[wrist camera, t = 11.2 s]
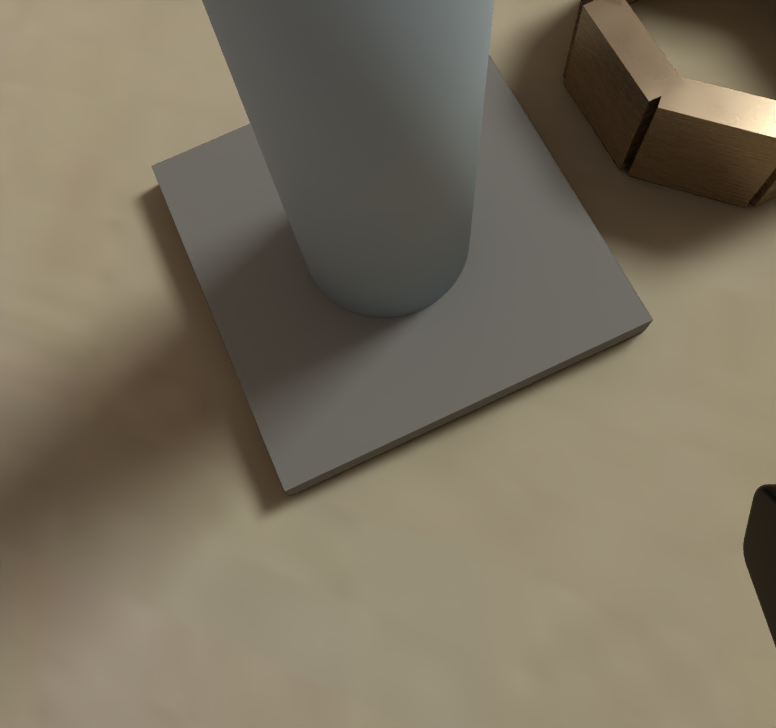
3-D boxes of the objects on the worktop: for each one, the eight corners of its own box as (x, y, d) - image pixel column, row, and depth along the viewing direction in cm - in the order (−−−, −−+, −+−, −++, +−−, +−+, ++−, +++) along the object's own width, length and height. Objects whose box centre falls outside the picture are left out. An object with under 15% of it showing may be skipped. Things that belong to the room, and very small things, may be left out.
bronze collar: (939, 121, 20) (1021, 44, 17) (669, 245, 20) (708, 187, 17) (766, -87, 23) (813, -185, 20) (522, 18, 22) (534, -66, 19)
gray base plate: (644, 330, 19) (653, 319, 18) (291, 495, 18) (284, 491, 18) (471, 47, 22) (472, 27, 21) (162, 181, 21) (151, 166, 21)
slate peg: (498, 274, 19) (597, -212, 7) (343, 345, 19) (197, -48, 7) (424, 142, 20) (412, -445, 9) (278, 206, 20) (66, -315, 8)
